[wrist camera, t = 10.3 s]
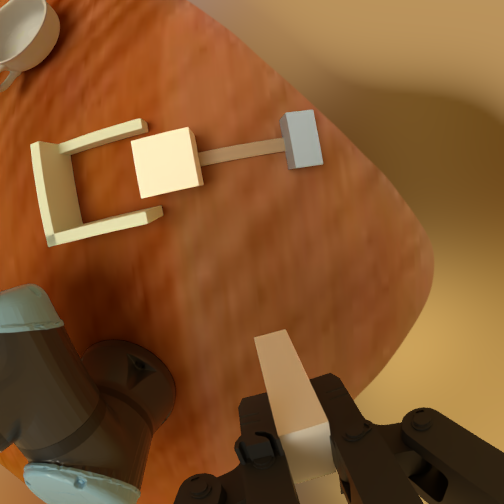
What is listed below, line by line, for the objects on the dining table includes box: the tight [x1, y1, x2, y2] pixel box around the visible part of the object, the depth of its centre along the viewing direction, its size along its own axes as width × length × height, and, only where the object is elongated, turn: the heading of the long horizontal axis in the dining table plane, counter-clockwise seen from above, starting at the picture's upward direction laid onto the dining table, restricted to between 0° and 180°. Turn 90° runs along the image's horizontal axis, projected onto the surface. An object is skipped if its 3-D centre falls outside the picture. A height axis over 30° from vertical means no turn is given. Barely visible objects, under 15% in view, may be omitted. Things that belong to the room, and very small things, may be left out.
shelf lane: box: [30, 118, 163, 247], centre depth 32 cm, size 12×11×8 cm
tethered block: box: [131, 110, 323, 199], centre depth 34 cm, size 19×6×6 cm, turn 100°
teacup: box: [0, 0, 60, 92], centre depth 27 cm, size 14×11×8 cm
